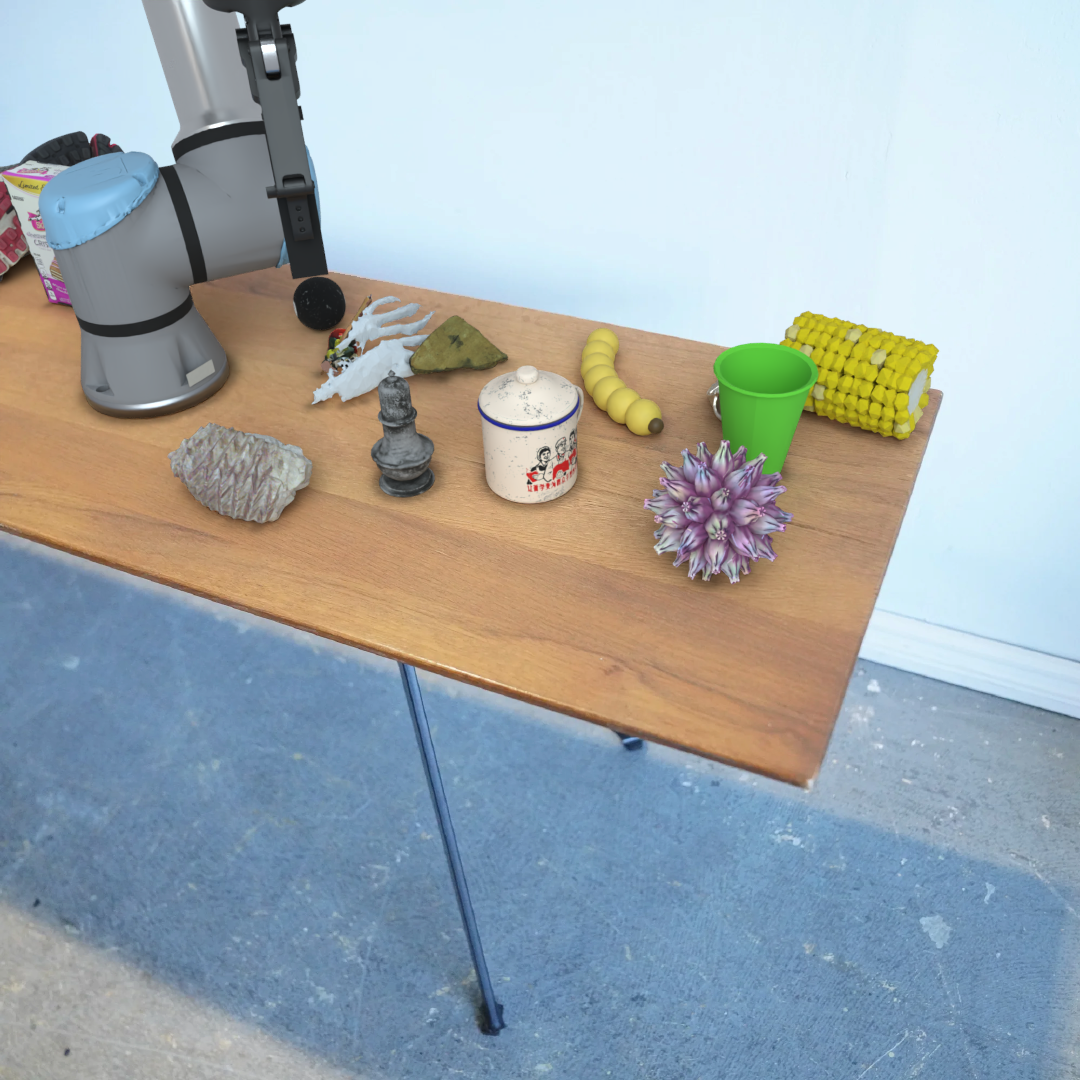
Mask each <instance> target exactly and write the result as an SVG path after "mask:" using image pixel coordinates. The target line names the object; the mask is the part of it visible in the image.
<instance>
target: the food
mask: <svg viewBox="0 0 1080 1080" xmlns="http://www.w3.org/2000/svg"><path fill="white" fill-rule="evenodd" d="M784 332H785V333H784V339H783V340H781V341H779V345H784V346H788V347H791V348H794V349H796V350H798V351H800V352H802V353H804V354H806V355H807V356H808V357H810V358H811V359H812V360H813V362H814V363H815V364H816V366H817V369H818V374H819V375H818V379H817V381H816V382H815V384H814V385H813V386H812V387H811V388H810V391H809V393H808V396H807V399H806V402H805V405H804V408H803V410H804V411H807V412H811V413H816V415H817V416H818V417H827V418H829V419H830V420H831V421H833V420H836V421H837V422H839V423H841V424H845V423H846V424H849V425H850V427H853V428H854V427H858V428H860V429H861V430H866V431H871V432H873V433H874V434H876V433H879V434H880V435H881V436H882V437H883V438H887V437H894V438H896V439H897V440H899V441H902V440H905V439H909V438H910V436H911V433H912V432H913V431H914V430H915V429H916V425H917V423H918V422H919V421H920V419H921V418H922V416H923V415H924V412H923V409H924V408H926V407H928V406H929V402H930V401H929V400H930V395H929V394H928V392H929V390H930V389H931V385H932V377H931V375H933V373H934V371H935V368H934V364H935V362H936V361H937V358H938V354H939V353H940V350H939V349H938V348H937V347H936V345H935V344H934V343H928V344H926V343H925V342H924V341H922V340H918V339H917V340H916V339H915V338H914V337H913V338H907V337H906V335H897V334H896V335H895V333H894V332H892V331H886V330H883V329H882V328H878V327H868V326H866V325H865V324H863V323H861V324H857V323H854V322H851V321H850V320H845V319H840V318H839V317H837V316H835V317H828V316H826V315H824V314H822V313H813V312H812V311H810V310H807V311H806V310H805V311H803V312H801V313H800V315H799V316H795V317H794V318H793V321H792V325H789V326H788V327H787V328H786V329H785V331H784ZM803 410H802V411H803Z"/></svg>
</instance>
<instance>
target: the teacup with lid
mask: <svg viewBox="0 0 1080 1080" xmlns="http://www.w3.org/2000/svg"><path fill="white" fill-rule="evenodd" d="M584 399H585V397H584V391H583V390H582V388H581V387H580V386H578V385H576V384H574V383H572V382H571V380H569V379H567V378H565V377H564V376H562V375H560V374H558V373H555V372H552V371H548V370H542V369H538V368H536V367H535V366H534V365H528V364H527V365H522V366H519V367H518V368H517V370H513V371H509V372H506V373H503V374H500V375H498V376H496V377H494V378H492V379H491V380H489V381H488V382H487V383H486V384H485V385H484V386H483V387H482V389H481V391H480V393H479V394H478V398H477V410H478V412H479V414H480V419H481V420H480V421H481V432H482V445H483V456H484V458H483V459H484V468H485V469H484V470H485V479H486V483H487V485H488V486H489V488H490V489H491V491H492V492H493V493H494V494H495V495H497V496H499V497H501V498H503V499H505V500H508V501H510V502H514V503H519V504H540V503H546V502H550V501H553V500H555V499H558V498H560V497H562V496H563V495H565V494H566V493H568V492H569V491H570V490H571V489H572V488H573V486H574V485H575V483H576V481H577V479H578V423H579V422H580V419H581V416H582V413H583V408H584V403H585V402H584V401H585V400H584Z"/></svg>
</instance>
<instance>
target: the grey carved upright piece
mask: <svg viewBox="0 0 1080 1080" xmlns="http://www.w3.org/2000/svg"><path fill="white" fill-rule="evenodd" d="M394 375H395V372H394V371H392V370H390V371H389V373H388V376H389V377H386V378H384V379H383V380H382V381H381V382H380V383H379V385H378V386H377V393H378V400H379V407H380V411H378V414H377V420H378V422H379V423H381V425H382V432H383V437H380V439H378V440H376V442H375V443H374V444H373V445H372V447H371V449H370V456H371V459H372V461H373V462H374V463H375V464H376V466H377V468H378V469H379V471H380V472H381V473H382V474H381V475H380V477H379V479H378V485H379V489H380V490H381V491H382V492H383V493H385V494H386V495H389V496H391V497H395V498H412V497H416V496H419V495H421V494H423V493H425V492H427V491H429V489H431V488H432V486H433V485H434V483H435V479H436V474H435V473H434V471H433V470H432V469H431V468H430V464H431V462H432V459H433V457H432V456H433V454H434V452H435V444H434V442H433V440H432V439H431V438H430V437H428V435H425V434H423V433H420V432H418V431H417V426H416V419H417V417H418V410H417V409H416V407H414V406H413V403H412V394H411V388H410V387H411V386H410V384H409V382H408V381H407V380H406V379H405V378H402V377H399V376H394Z"/></svg>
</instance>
